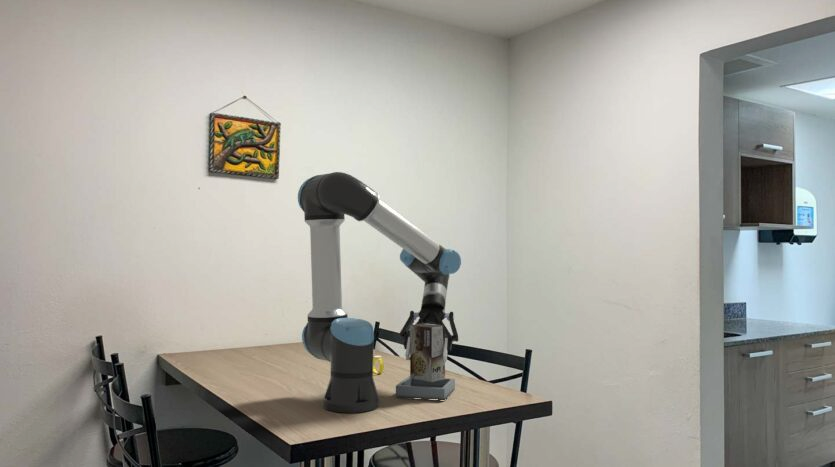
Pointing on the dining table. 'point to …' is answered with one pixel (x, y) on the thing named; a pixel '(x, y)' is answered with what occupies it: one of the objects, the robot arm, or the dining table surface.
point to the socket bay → (425, 388)
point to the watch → (380, 364)
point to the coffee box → (427, 352)
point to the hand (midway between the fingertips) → (425, 358)
